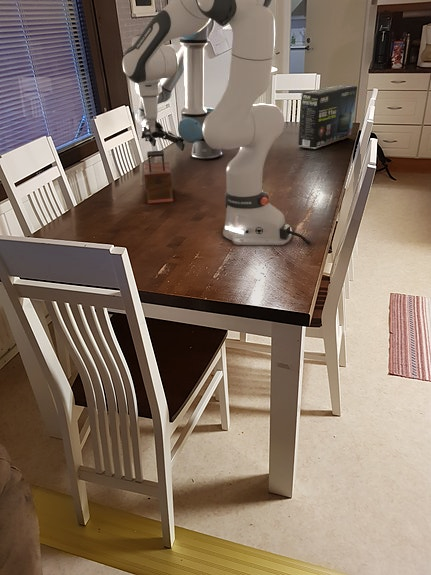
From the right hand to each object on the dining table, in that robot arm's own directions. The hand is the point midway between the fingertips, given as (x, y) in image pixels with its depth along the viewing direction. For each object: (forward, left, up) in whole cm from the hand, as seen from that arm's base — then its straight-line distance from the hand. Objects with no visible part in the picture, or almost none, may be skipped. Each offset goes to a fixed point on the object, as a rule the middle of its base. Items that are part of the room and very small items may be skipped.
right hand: (152, 128), depth 165 cm
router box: (-55, -98, -27) cm, 115 cm away
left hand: (+7, -30, -14) cm, 34 cm away
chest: (+2, -4, -27) cm, 27 cm away
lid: (+2, -4, -16) cm, 17 cm away
